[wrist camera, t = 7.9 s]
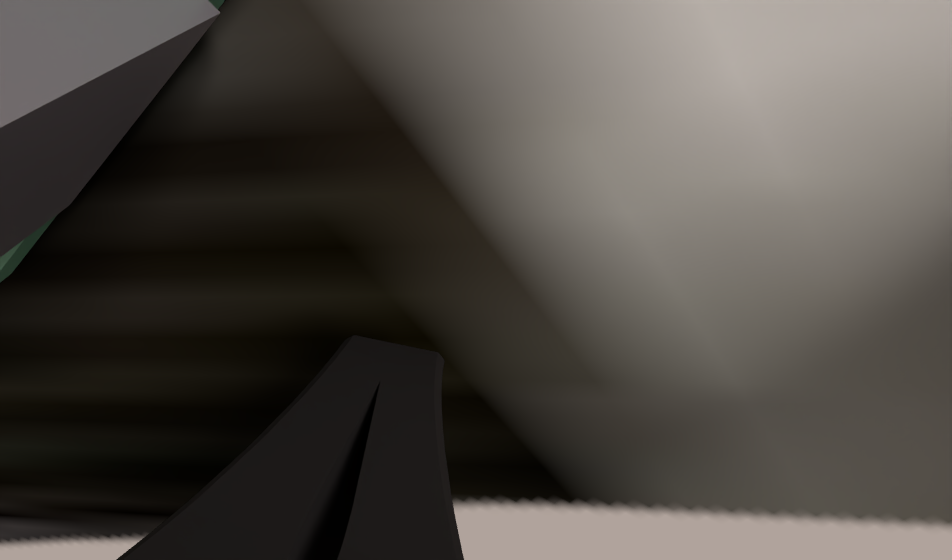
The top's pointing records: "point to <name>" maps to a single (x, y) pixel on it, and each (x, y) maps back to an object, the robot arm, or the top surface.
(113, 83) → the plug block
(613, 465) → the top surface
